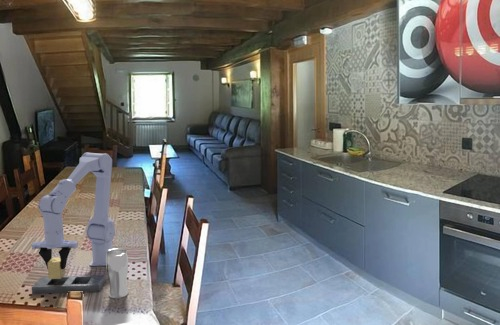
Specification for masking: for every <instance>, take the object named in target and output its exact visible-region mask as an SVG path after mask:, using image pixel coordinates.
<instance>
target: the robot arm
mask: <svg viewBox="0 0 500 325" xmlns="http://www.w3.org/2000/svg"><path fill="white" fill-rule="evenodd" d="M78 162H79V163H78V164H77V165H76V167H75V168H74V170H73V171H72V172H71V173H70V175H69V176H68V177H67V179H66V178H63V179H60V180H59V182H58V184H57V185H56V186H55V187H54V188H53V189H52V190H51V191H50V192H49V194H45V195H44V196H42V197H41V198H40V200H39V201H38V204H37V209H38V210H39V212H40V213H41V217H42V218H43V232H44V241H43V240H42V241H33V242H32V243H31V250H37V249H38V255H40V257H41V258H42V260H43V261H44V263H45V265H46V268H47V270H48V263H47V262H48V261H49V260H50V259H51V258H53V257H52V256H53V254H52V251H53V249H60V250H58V255H59V257H60V259H61V268H62V269H64V268H65V269H66V266H67V262H68V257H69V254H70V251H71V250H72V249H74V250H75V249H77V248H78V247H79V242H78V240H68V239H67V240H65V235H64V225H63V224H64V222H63V211H64V210H65V209H66V205H67V203H68V200H69V198H70V197H72V195H73V194H74V193H75V191H76V190H77V187H76V185H77V184H78V183H79V182H80V181H81V180H82V179H83V178H84V177H85V176H87V174H88V173H92V174H93V175H94V176H95V177H96V179H95V180H96V181H95V192H94V193H95V194H94V196H95V197H94V209H93V211H94V212H93V216H92V218H91V219H89V220H88V224H87V227H86V230H85V234H86V237H87V238H88V239H89V242H91V256H92V261H91V262H90V263H89V264H88V266H90V267H93V266H94V267H98V266H99V267H103V266H106V252H107V251H109V250H112V249H114V243H113V242H114V241H113V239H114V238H115V236H116V228H115V221H114V220H113V219H111V218H110V217H109V211H110V199H111V198H110V195H111V182H112V171H113V170H112V169H113V158H112V157H111V156H110V155H109V153H95V152H84V153H83V154H82V155H81V157H79V160H78Z"/></svg>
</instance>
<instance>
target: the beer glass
mask: <svg viewBox="0 0 500 325" xmlns="http://www.w3.org/2000/svg"><path fill="white" fill-rule="evenodd" d="M105 269H106V273H107V278H108V281H109V292H108V296H109V297H110V298H111V299H114V298H115V300H116V299H117V300H118V299H123V298H125V297H127V295H128V294H129V289H128V285H127V283H128V282H127V279H128V273H129V257H128V250H127V249H125V248H113V249H112V250H109V251H107V252H106V267H105Z"/></svg>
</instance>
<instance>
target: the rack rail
mask: <svg viewBox="0 0 500 325" xmlns="http://www.w3.org/2000/svg"><path fill="white" fill-rule="evenodd" d="M106 276H107V275H106V274H93V275H92V274H90V275H89V274H88V275H86V274H85V275H84V274H83V275H64V276H63V277H62V278H61V279H49V275H48V276H47V275H45V276H44V275H43V276H41V277H40V278H38V280H37V281H36V282H35V283H34V284H32V286H31V294H32V295H38V294H39V295H41V294H68V293H67V292H68V291H83V292H82V293H99V292H101V290H102V289H103V286H104V285H105V283H106V282H107V279H106V278H107V277H106Z"/></svg>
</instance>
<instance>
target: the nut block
mask: <svg viewBox="0 0 500 325" xmlns="http://www.w3.org/2000/svg"><path fill="white" fill-rule="evenodd" d="M47 263H48V269H47V273H48V276H49V279H61V278H62V277H63V276H66V267H65V268H64V269H62V268H61V259H60V256H58V257H57V256H55V257H52V258H51V259H50V260H49V261H48V262H47Z"/></svg>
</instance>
